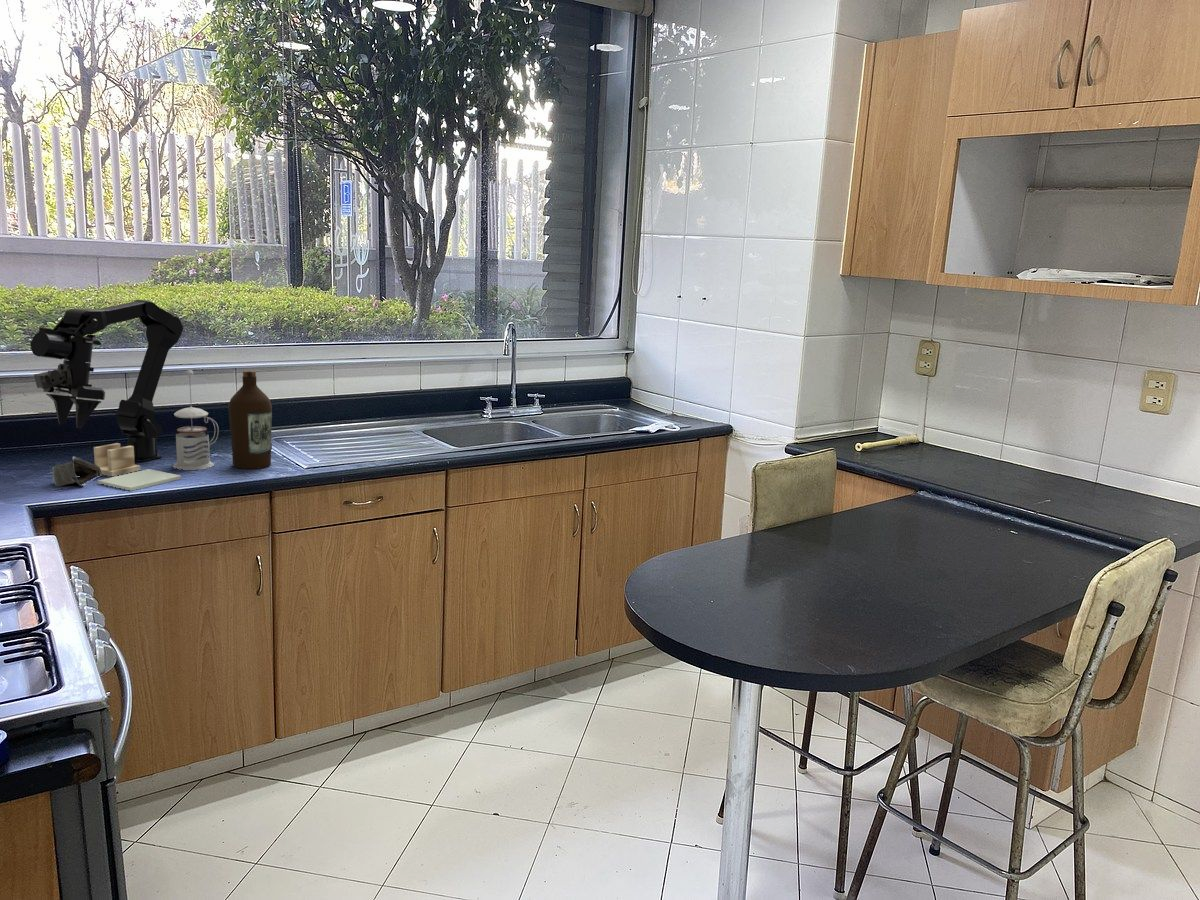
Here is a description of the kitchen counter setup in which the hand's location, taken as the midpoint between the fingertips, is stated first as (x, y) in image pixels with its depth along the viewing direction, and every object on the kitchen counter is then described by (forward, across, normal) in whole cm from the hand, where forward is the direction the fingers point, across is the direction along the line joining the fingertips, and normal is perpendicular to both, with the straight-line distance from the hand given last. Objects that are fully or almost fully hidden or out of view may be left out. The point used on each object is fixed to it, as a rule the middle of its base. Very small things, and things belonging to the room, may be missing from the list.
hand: (70, 425), depth 215 cm
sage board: (+11, +15, +10) cm, 21 cm away
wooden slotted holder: (+11, +2, +11) cm, 15 cm away
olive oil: (+6, +18, +38) cm, 43 cm away
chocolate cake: (+13, +6, 0) cm, 14 cm away
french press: (+8, +9, +28) cm, 30 cm away
